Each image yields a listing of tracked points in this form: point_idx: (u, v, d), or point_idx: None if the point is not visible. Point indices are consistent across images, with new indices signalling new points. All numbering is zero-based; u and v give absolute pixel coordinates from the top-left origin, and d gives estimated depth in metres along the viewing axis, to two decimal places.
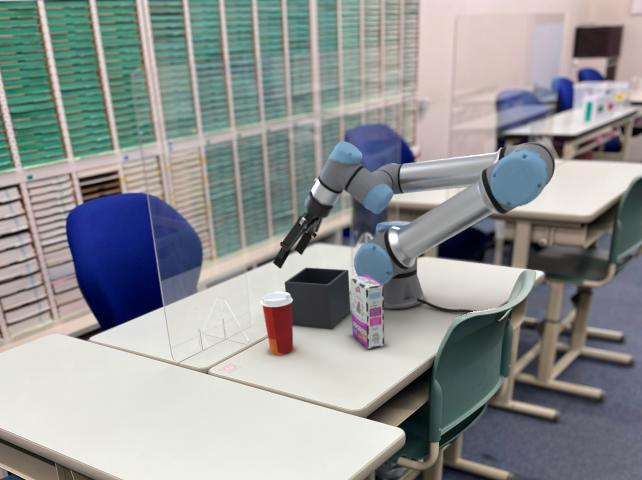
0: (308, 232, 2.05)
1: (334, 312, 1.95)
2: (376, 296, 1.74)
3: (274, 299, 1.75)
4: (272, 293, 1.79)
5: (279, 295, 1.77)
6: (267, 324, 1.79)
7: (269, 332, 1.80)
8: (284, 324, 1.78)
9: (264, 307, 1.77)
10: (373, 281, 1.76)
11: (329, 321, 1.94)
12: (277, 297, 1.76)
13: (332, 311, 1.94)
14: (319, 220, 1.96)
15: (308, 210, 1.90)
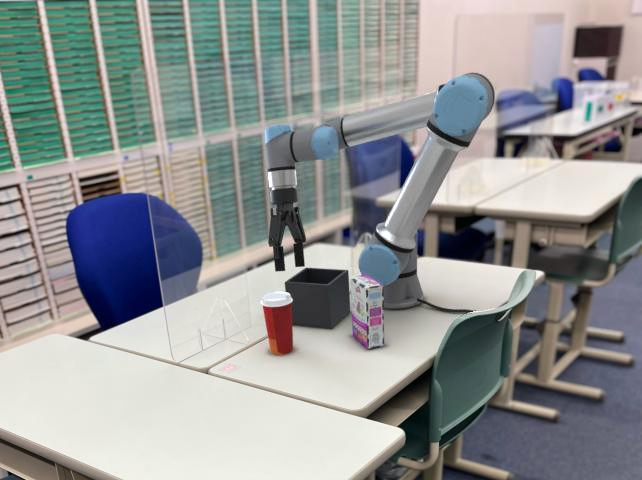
0: (297, 242, 2.00)
1: (334, 312, 1.95)
2: (376, 296, 1.74)
3: (274, 299, 1.75)
4: (272, 293, 1.79)
5: (279, 295, 1.77)
6: (267, 324, 1.79)
7: (269, 331, 1.80)
8: (284, 324, 1.78)
9: (264, 307, 1.77)
10: (373, 281, 1.76)
11: (329, 321, 1.94)
12: (277, 297, 1.76)
13: (332, 311, 1.94)
14: (294, 213, 1.92)
15: (276, 202, 1.87)
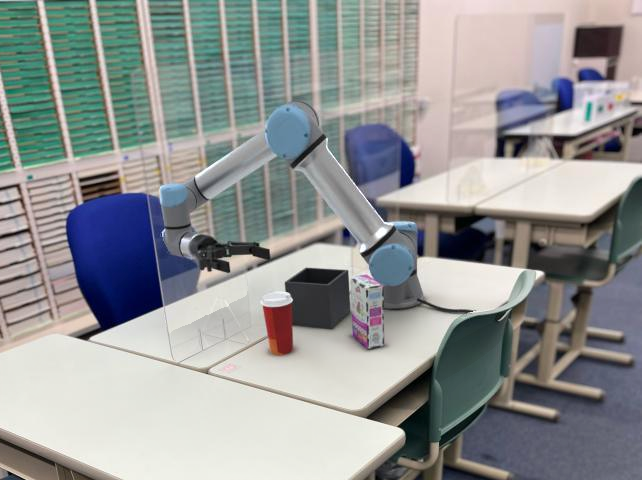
0: None
1: (334, 312, 1.95)
2: (376, 296, 1.74)
3: (274, 299, 1.75)
4: (272, 293, 1.79)
5: (279, 295, 1.77)
6: (267, 324, 1.79)
7: (269, 331, 1.80)
8: (284, 324, 1.78)
9: (264, 307, 1.77)
10: (373, 281, 1.76)
11: (329, 321, 1.94)
12: (277, 297, 1.76)
13: (332, 311, 1.94)
14: (220, 243, 1.89)
15: None
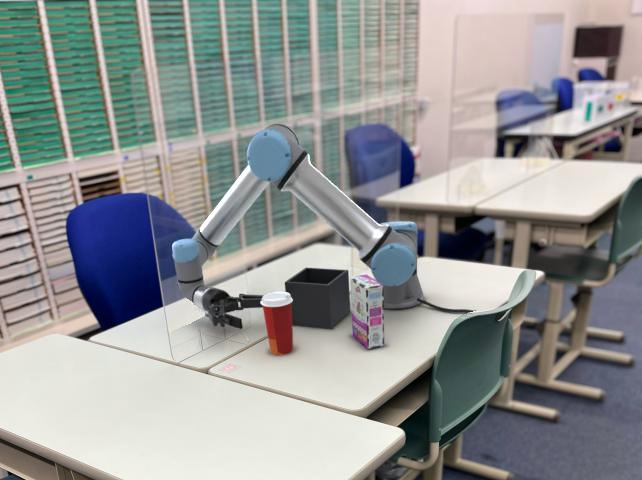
0: None
1: (334, 312, 1.95)
2: (376, 296, 1.74)
3: (274, 299, 1.75)
4: (272, 293, 1.79)
5: (279, 295, 1.77)
6: (267, 324, 1.79)
7: (269, 331, 1.80)
8: (284, 324, 1.78)
9: (264, 307, 1.77)
10: (373, 281, 1.76)
11: (329, 321, 1.94)
12: (277, 297, 1.76)
13: (332, 311, 1.94)
14: None
15: None
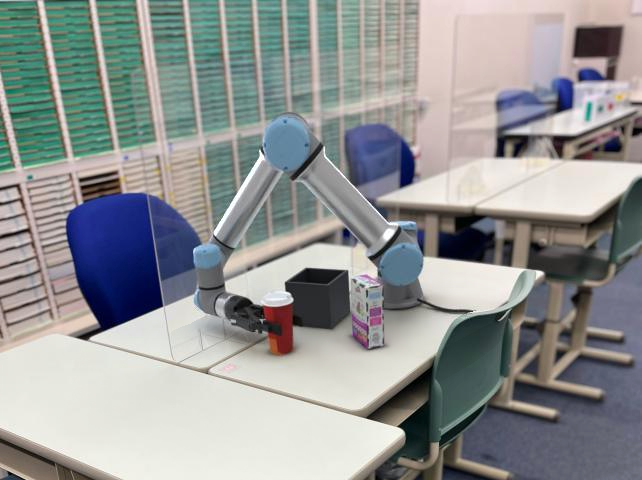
0: None
1: (334, 312, 1.95)
2: (376, 296, 1.74)
3: (275, 299, 1.75)
4: (273, 293, 1.79)
5: (280, 295, 1.78)
6: None
7: None
8: (285, 324, 1.78)
9: (265, 307, 1.77)
10: (373, 281, 1.76)
11: (329, 321, 1.94)
12: (278, 297, 1.76)
13: (332, 311, 1.94)
14: (255, 304, 1.88)
15: None
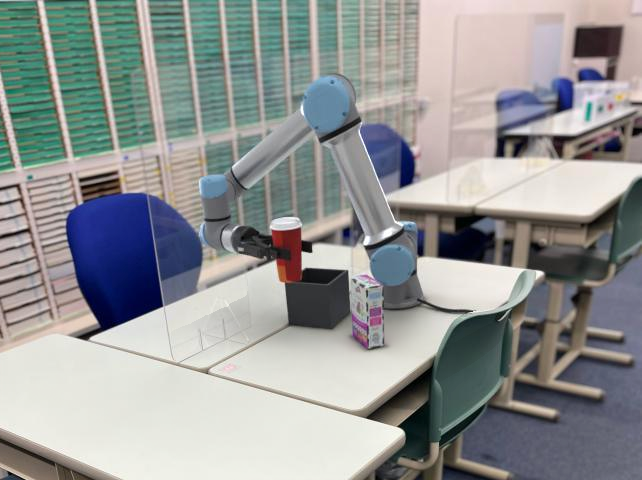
0: None
1: (334, 312, 1.95)
2: (376, 296, 1.74)
3: (284, 222, 1.72)
4: (281, 218, 1.76)
5: (289, 220, 1.74)
6: None
7: None
8: (294, 250, 1.75)
9: (273, 231, 1.74)
10: (373, 281, 1.76)
11: (329, 321, 1.94)
12: (287, 221, 1.73)
13: (332, 311, 1.94)
14: None
15: None
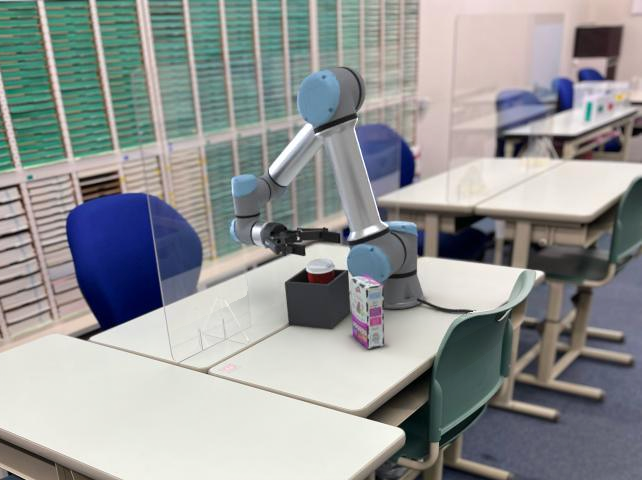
0: None
1: (334, 312, 1.95)
2: (376, 296, 1.74)
3: (316, 266, 1.94)
4: (319, 260, 1.98)
5: (323, 263, 1.95)
6: None
7: None
8: None
9: None
10: (373, 281, 1.76)
11: (329, 321, 1.94)
12: (320, 264, 1.95)
13: (332, 311, 1.94)
14: (290, 229, 1.99)
15: None
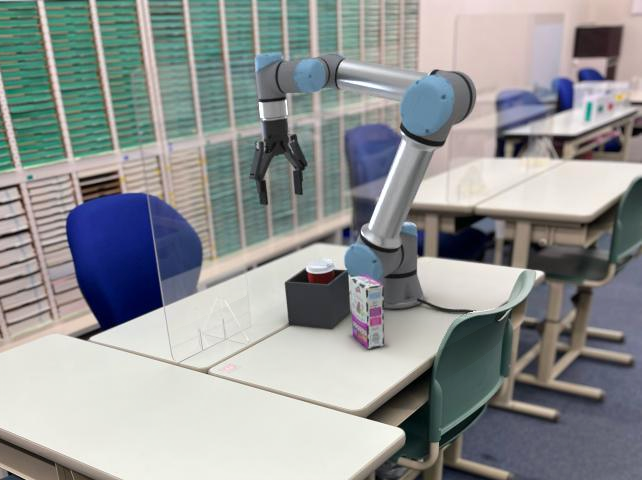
0: (296, 169, 2.02)
1: (334, 312, 1.95)
2: (376, 296, 1.74)
3: (316, 266, 1.94)
4: (319, 260, 1.98)
5: (323, 263, 1.95)
6: None
7: None
8: None
9: None
10: (373, 281, 1.76)
11: (329, 321, 1.94)
12: (320, 264, 1.95)
13: (332, 311, 1.94)
14: (286, 143, 1.93)
15: (263, 134, 1.90)
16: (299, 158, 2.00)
